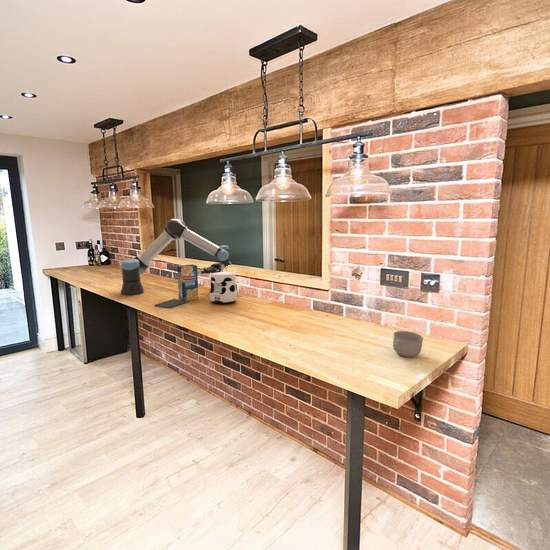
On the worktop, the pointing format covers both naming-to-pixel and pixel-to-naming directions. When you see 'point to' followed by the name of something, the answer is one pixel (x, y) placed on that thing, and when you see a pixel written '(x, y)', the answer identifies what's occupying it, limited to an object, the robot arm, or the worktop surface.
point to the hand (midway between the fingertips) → (197, 272)
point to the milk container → (223, 287)
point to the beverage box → (187, 282)
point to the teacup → (407, 343)
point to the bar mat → (171, 303)
